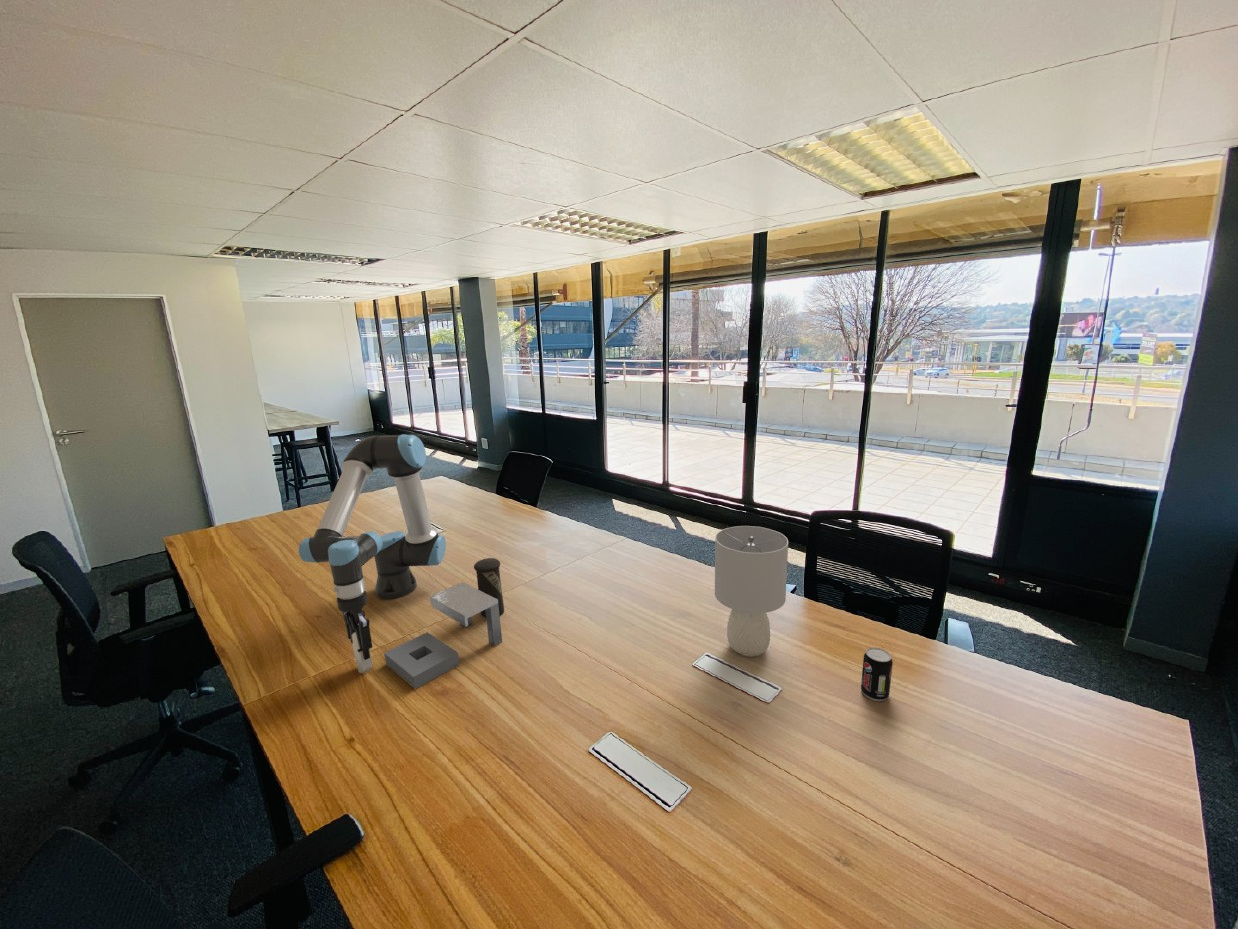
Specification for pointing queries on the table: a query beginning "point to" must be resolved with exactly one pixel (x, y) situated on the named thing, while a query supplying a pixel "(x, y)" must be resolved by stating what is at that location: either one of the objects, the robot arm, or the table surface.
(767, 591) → the lamp
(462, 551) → the table surface
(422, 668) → the socket block
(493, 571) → the container
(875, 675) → the beverage can
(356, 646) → the peg
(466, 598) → the grey legged flat piece
